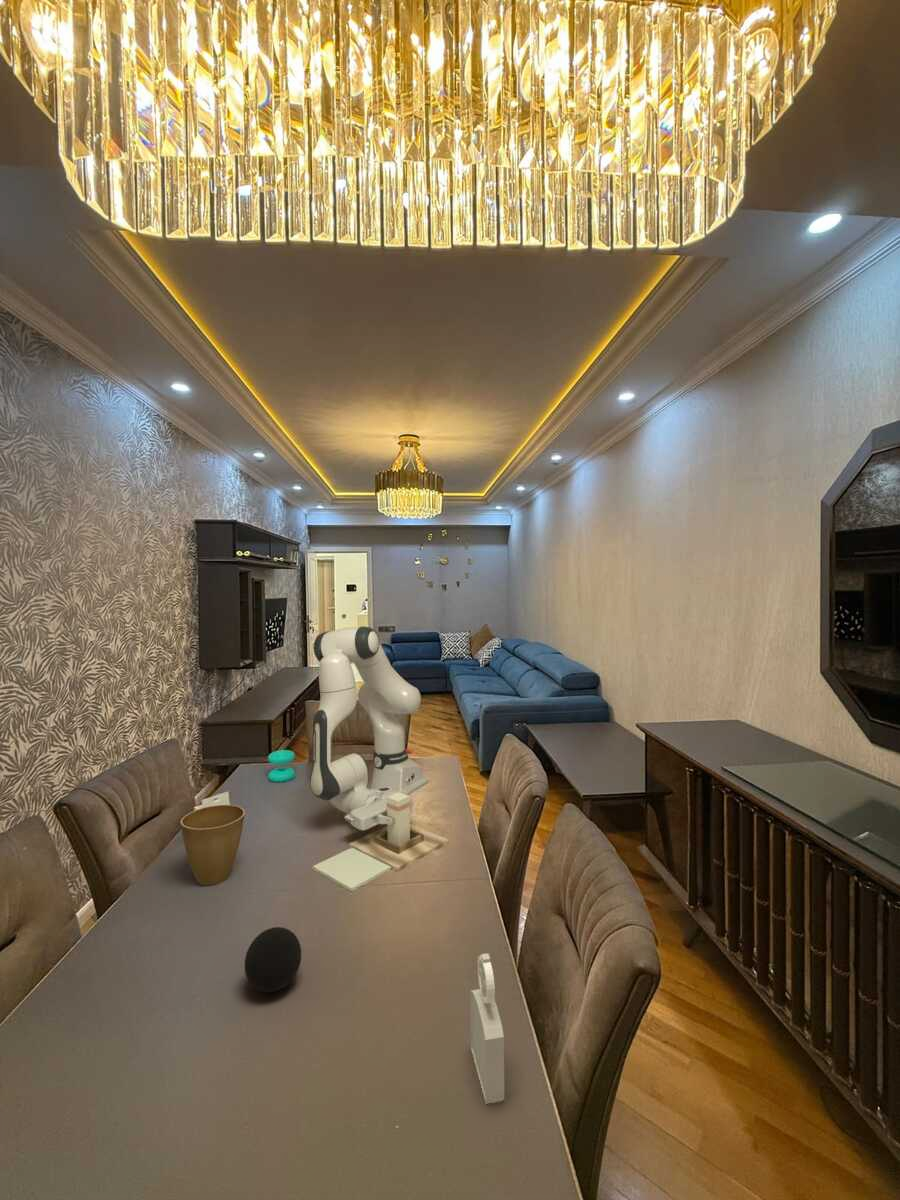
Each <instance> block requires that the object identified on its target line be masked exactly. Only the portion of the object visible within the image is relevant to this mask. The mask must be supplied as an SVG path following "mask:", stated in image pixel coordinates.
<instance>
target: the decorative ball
mask: <svg viewBox="0 0 900 1200" xmlns="http://www.w3.org/2000/svg"><path fill="white" fill-rule="evenodd" d="M301 961H302V945H301V944H300V940H299V939H298V937H297V936H296V934H295V933H294V932H293V931H292V930H290V929H287V928H285V927H279V926H277V927H274V926H273V927H270V928H267V929H265V930H263V931H262V932H260V933H259V934H258V935H256V937H255V938H254V939H253V940H252V941H251V943H250V945H249V946H248V948H247V951H246V954H245V957H244V974H245V977H246V980H247V981H248V983H249V984H250V985H251V986H252V987H253V988H254V989H255V990H257V991H259V992H262V993H273V992H274V993H275V992H277V991H280V990H282V989H283V988H285V987H286V986H287V985H289V984H290V982H292V980H293V979H295V976H296V974H297V973H298V971H299V969H300V966H301Z"/></svg>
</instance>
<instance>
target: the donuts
mask: <svg viewBox="0 0 900 1200" xmlns="http://www.w3.org/2000/svg"><path fill="white" fill-rule="evenodd" d="M295 757H296V753H295V752H294V751H292V750H289V749H279V750H275V751H273V752H271V753H269V755H268V757H267V760H268V762H269V763H270V764H273V765H278V766H279V765H285V764H289V763H291V762H292V761H294V759H295ZM295 776H296V771H295V769H294V768H293V767H289V766H281V767H276V768H274V769H273V768H272V770H270V771H269V773H268V779H269V780H270V781H271V782H273V783H283V781H285V782H287V781H291V780H293V778H295ZM290 779H291V780H290Z"/></svg>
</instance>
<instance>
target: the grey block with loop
mask: <svg viewBox="0 0 900 1200" xmlns="http://www.w3.org/2000/svg"><path fill="white" fill-rule="evenodd" d="M477 977H478V979H477V980H478V986H479V988H478V989H471V990H470V991H469V992H470V993H469V994H470V995H469V996H470V997H469V998H470V999H469V1001H470V1003H469V1004H470V1010H469V1011H470V1050H471V1054H473V1055H472V1058H474V1059H473V1062H474V1066H475V1065H476V1066H475V1070H476V1069H477V1070H476V1073H478V1074H477V1077H478V1080H480V1081H479V1084H481V1085H480V1088H482V1089H481V1092H482V1095H484V1096H483V1099H485V1100H484V1103H486V1104H488V1103H493V1104H495V1103H494V1102H496V1101H497V1102H498V1101H503V1100H504V1101H505V1035H504V1031H503V1025H502V1021H501V1017H500V1013H499V1009H498V1006H497V1003H496V1000H495V999H496V987H495V977H494V971H493V966H492V963H491V956H490V954H489V953H482V954H480V955H478V957H477ZM504 1101H503V1102H504ZM498 1103H499V1102H498ZM486 1104H485V1105H486ZM488 1105H489V1104H488Z"/></svg>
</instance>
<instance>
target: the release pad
mask: <svg viewBox="0 0 900 1200" xmlns="http://www.w3.org/2000/svg"><path fill="white" fill-rule="evenodd" d="M312 870H314V871H315V872H317V873H318V874H319V875H321V876H323V877H325V878H327V879H329V880H330V881H332V882H333V883H336V884H337V885H339V886H340V887H343V888H344V889H346V890H347V891H349V890H350V892H351V891H352V892H354V891H355V890H357V889H359V888H361V887H363V886H364V885H366V884H368V883H370V882H371V881H373V880H376V879H377V878H378V877H381V876H382V875H384V874H386V873H388V872H390V871H391V870H392V869H391V867H390V866H388V865H386V864H384V863H382V862H380V861H378V860H376V859H374V858H372V857H370V856H368V855H366V854H364V853H362V852H360V851H358V850H356V849H354V848H349V849H348V848H347V849H346V850H344V851H342V852H339V853H337V854H335V855H333V856H331V857H329V858H327V859H324V860H323V861H321V862H318V863H316V864H315V865H312ZM362 885H363V886H362ZM360 886H361V887H360ZM358 887H359V888H358ZM353 890H354V891H353Z"/></svg>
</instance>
